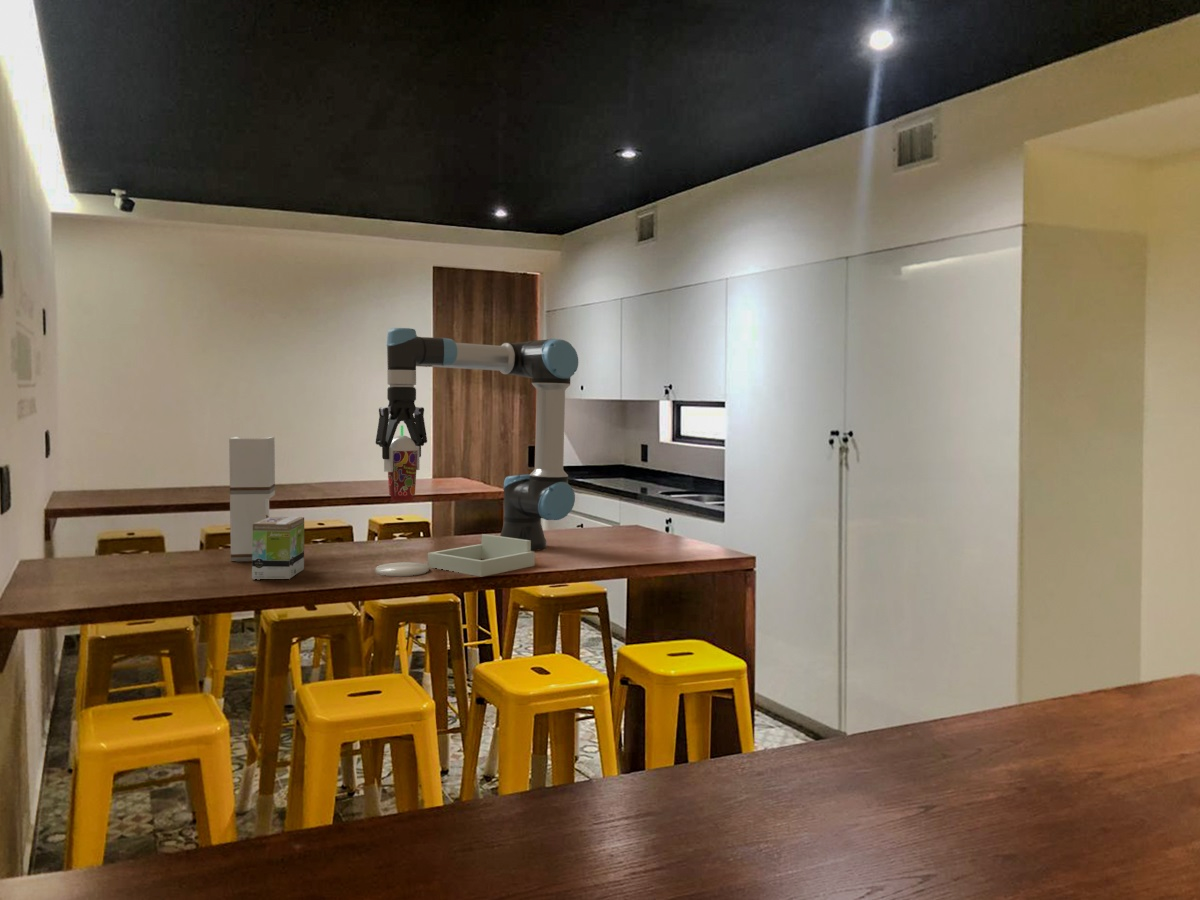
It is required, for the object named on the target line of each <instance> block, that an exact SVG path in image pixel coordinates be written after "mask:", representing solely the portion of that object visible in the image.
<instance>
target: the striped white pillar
mask: <svg viewBox="0 0 1200 900" xmlns="http://www.w3.org/2000/svg"><path fill="white" fill-rule="evenodd" d="M228 444H229V445H228V446H229V447H228V448H229V449H228V451H229V460H228V461H229V514H230V515H229V520H230V521H229V522H230V525H229V526H230V530H229V531H230V535H229V536H230V562H231V561H236V562H252V542H253V523H256V522H258V521H261V520H263V519H265V518H268V517H270V499H271V498H272V497H275V495H276V470H275V469H276V467H275V466H276V463H275V462H276V461H275V459H276V457H275V454H276V453H275V452H276V451H275V436H270V437H259V438H254V437H253V438H252V437H251V438H250V437H248V438H246V437H245V438H244V437H243V438H242V437H241V438H240V436H234V437H230V438H228Z"/></svg>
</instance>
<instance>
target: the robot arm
mask: <svg viewBox="0 0 1200 900" xmlns="http://www.w3.org/2000/svg"><path fill="white" fill-rule="evenodd" d="M386 338H387V339H386V340H387V341H386V349H387V352H386V354H387V355H386V356H387V362H386V363H387V385H389V386H388V388H387V392H386V393H387V397H386V398H387V401H388V406H385V407H379V408H378V414H379V418H378V422H377V423H378V426H377V430H376V431H377V432H376V436H375V444H376V446H377V445H378V446H379V447H380V448H381V452H382V454H381V456H382V457H381V458H382V459H383V471H384V472H385V473H388V472H393V447H390V445H391V443H392V440H393V438H395V434H396V431H397V429H398V426H399V424H401V422H403V423H404V424H405V426H406V428H407V431H408V434H409V436H410V437H409V438H411V439H412V440H413V441H414V443H415V445H416V447H417V448H418V450H417V469H416V471H419V470H420V458H421V457H422V447H423V446H424V445H425V444H427V443H428V436H427V430H426V424H425V423H426V422H425V418H424V415H425V414H424V413H425V408H424V407H422V406H421V407H420V406H419V407H418V406H416V404H415V401H416V400H417V388H416V387H415V386H416V385H417V367H425V368H429V367H430V368H445V369H449V368H450V369H464V370H465V369H466V370H483V371H484V370H486V371H499V372H500V373H501V374H503V375H511V376H512V375H513V376H518V377H524V378H527V379H528V378H529V379H531V385H532V386H533V387H534V388H535V391H536V400H535V401H536V407H535V441H534V442H535V444H534V445H535V450H534V454H535V455H534V469H533V471H532V472H530V474H518V475H508V476H506V477H505V479H504V481H503V487H502V488H503V525H502V529H501V532H500V535H499V536H502V537H509V538H516V539H523V540H531V551H534V552H535V551H542V550H544V549H546V548H547V539H546V538H545V533H544V530H543V527H542V526H543V525H542V519H543V520H546V521H560V520H562V519H564V518H566V517H567V516H568V514H569V513H571V511H572V510H573V508H574V506H575V503H576V494H575V493H576V492H575V491H574V489H573V487H572V485H570V484H569V474H568V473H567V472H566V471H565V470H564V457H565V455H564V453H565V452H564V450H565V449H564V448H565V447H564V445H565V411H566V410H565V408H566V407H565V405H566V404H565V403H566V402H565V401H566V390H567V389H568V388H569V387H570V386H571V378H572V376H574V375H575V372H577V371H578V367H579V357H578V353H577V351H576V349H575V347H574V346H573V345H572V344H571V343H570V342H569V341H567V340H564V339H561V338H559V339H558V338H550V339H539V340H529V341H523V342H521V341H520V342H503V343H502V344H501V345H493V344H479V343H466V342H456V341H455V340H454V339H452V338H446V337H432V336H431V337H428V336H427V337H426V336H425V337H424V336H417V331H416V329H414V328H410V327H409V328H408V327H393V328H390V329H389V330H388V331H387V337H386Z"/></svg>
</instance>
